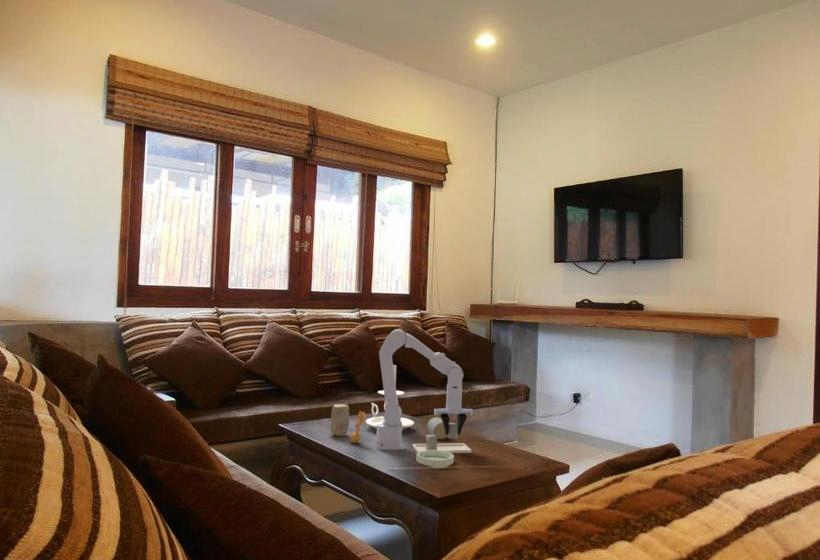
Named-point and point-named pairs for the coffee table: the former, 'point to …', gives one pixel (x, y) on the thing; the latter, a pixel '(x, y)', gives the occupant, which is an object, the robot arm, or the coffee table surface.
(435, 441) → the pebble
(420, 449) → the parts tray
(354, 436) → the figurine
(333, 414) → the carving
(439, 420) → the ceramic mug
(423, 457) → the celadon bowl
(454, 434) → the pebble
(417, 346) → the robot arm
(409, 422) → the candlestick
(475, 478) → the coffee table surface
